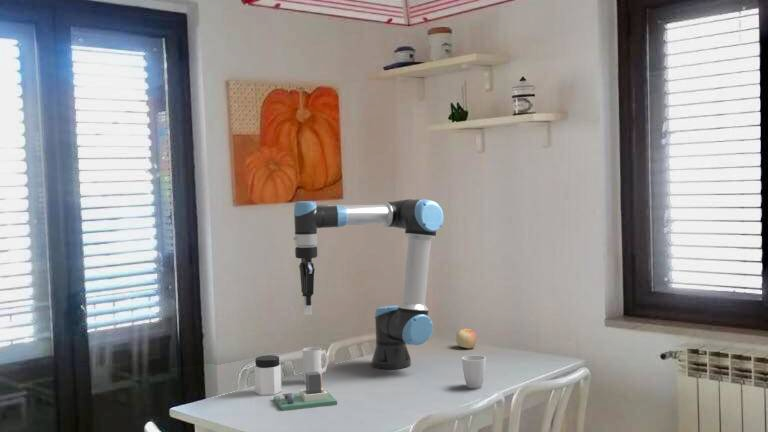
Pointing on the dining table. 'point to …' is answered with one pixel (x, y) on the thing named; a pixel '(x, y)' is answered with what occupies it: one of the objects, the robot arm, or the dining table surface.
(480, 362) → the cup
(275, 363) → the jar
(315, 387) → the plug
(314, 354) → the mug
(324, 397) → the board
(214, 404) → the dining table surface
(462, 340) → the apple
